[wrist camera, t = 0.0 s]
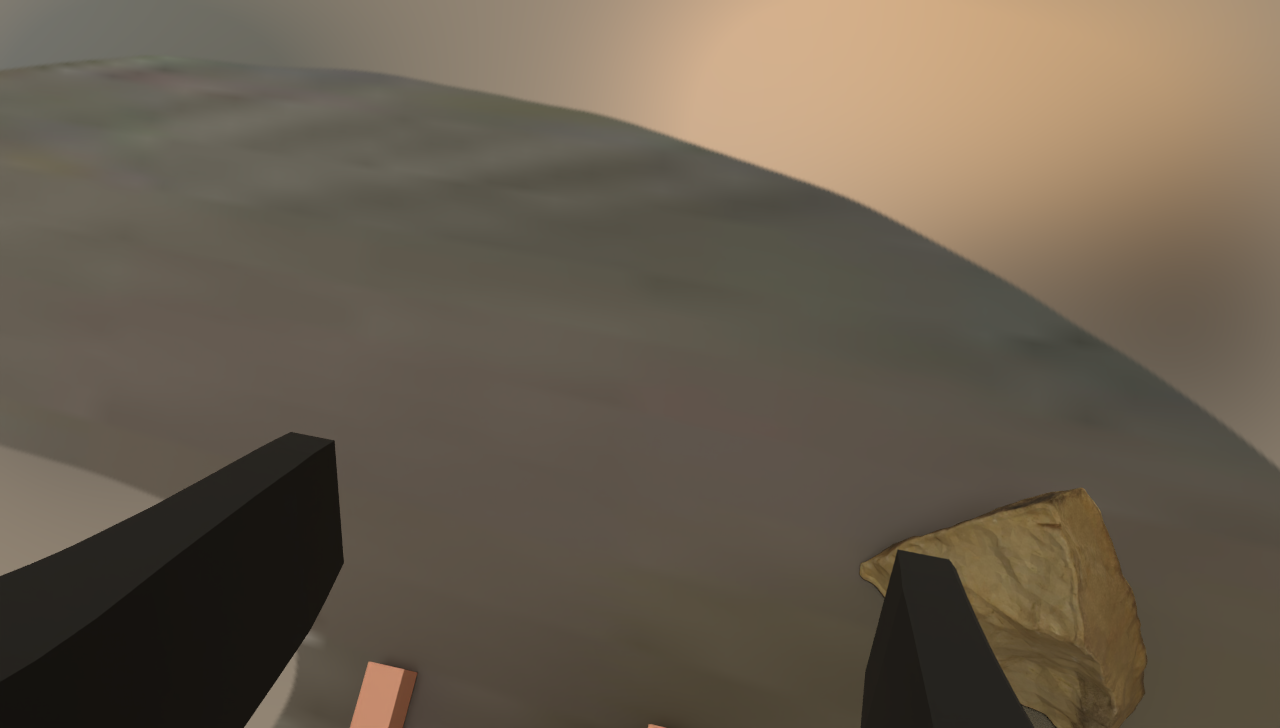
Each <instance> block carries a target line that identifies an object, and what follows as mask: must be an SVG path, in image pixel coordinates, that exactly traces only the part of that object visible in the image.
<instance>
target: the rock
mask: <svg viewBox="0 0 1280 728" xmlns="http://www.w3.org/2000/svg"><path fill="white" fill-rule="evenodd" d="M897 549H898V550H903V551H908V552H914V553H919V554H924V555H929V556H934V557H940V558H945V559H949V560H950V561H951V562H952V564H953V565H954V567H955V568H956V570H957V572H958V575H959V577H960V580H961V582H962V585H963V587H964V590H965V592H966V594H967V597H968V599H969V601H970V604H971V606H972V608H973V610H974V613H975V615H976V617H977V619H978V621H979V624H980V626H981V628H982V630H983V632H984V634H985V636H986V638H987V640H988V643H989V645H990V647H991V649H992V651H993V653H994V655H995V657H996V659H997V661H998V663H999V664H1000V666H1001V668H1002V670H1003V672H1004V674H1005V676H1006V677H1007V679H1008V681H1009V683H1010V685H1011V687H1012V689H1013V690H1014V692H1015V694H1016V696H1017V698H1018V700H1019V702H1020V703H1021V704H1022V705H1024V706H1027V707H1030V708H1033V709H1035V710H1037V711H1039V712H1042V713H1044V714H1045V715H1046V716H1047V717H1048V718H1049V719H1050V720H1051V721H1052V723H1053V724H1054V725H1055V726H1056V727H1057V728H1119V727H1120V726H1121V724H1122V723H1123V721H1124V720H1125V719H1126V718H1127V717H1128V716H1129V715H1130V714H1131V713H1132V712H1133V711H1134V710H1135V709H1136V706H1137V705H1138V703H1139V702H1140V701H1141V699H1142V697H1143V696H1144V694H1145V690H1144V683H1143V679H1144V669H1145V667H1146V664H1147V655H1146V648H1145V646H1144V643H1143V639H1142V637H1141V631H1140V626H1141V624H1140V620H1139V618H1138V616H1137V606H1136V602H1135V597H1134V594H1133V591H1132V588H1131V587H1130V585H1129V584H1128V582H1127V581H1126V579H1125V578H1124V577H1123V575H1122V571H1121V568H1120V563H1119V561H1118V558H1117V555H1116V552H1115V549H1114V546H1113V543H1112V540H1111V538H1110V536H1109V533H1108V531H1107V529H1106V526H1105V524H1104V522H1103V519H1102V515H1101V512H1100V510H1099V508H1098V507H1097V505H1096V504H1095V503H1094V501H1093V500H1092V499H1091V498H1090V496H1089V495H1088V494H1087V493H1086V491H1085V489H1083V488H1077V489H1072V490H1067V491H1058V492H1050V493H1046V494H1042V495H1039V496H1035V497H1032V498H1028V499H1024V500H1021V501H1018V502H1016V503H1013V504H1010V505H1007V506H1004V507H1000V508H997V509H995V510H993V511H991V512H989V513H986V514H984V515H981V516H979V517H977V518H974V519H971V520H967V521H963V522H961V523H958V524H956V525H954V526H952V527H949V528H944V529H940V530H937V531H935V532H932V533H929V534H927V535H924V536H913V537H910V538H908V539H906V540H903V541H901V542H898V543H895V544H893V545H891V546H890V547H888V548H887V549H885V550H883V551H882V552H881V553H879V554H878V555H877V556H875V557H873V558H872V559H870V560H868V561H867V562H863V563H861V565H860V576H861V577H862V578H863V579H864V580H867V581H869V582H871V583H872V584H874V585H875V586H876V587H877V588H878V589H879V591H880V592H881V593H882V594H883V596H884V597H885V595H886V592H887V588H888V584H889V580H890V576H891V572H892V569H893V565H894V561H895V557H896V553H897Z"/></svg>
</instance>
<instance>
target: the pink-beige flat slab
mask: <svg viewBox="0 0 1280 728" xmlns="http://www.w3.org/2000/svg"><path fill="white" fill-rule="evenodd" d="M416 676H417V672H413V671H409V670H405V669H400V668H396V667H391V666H387V665H382V664H378V663H373V662H369V663H368V666H367V670H366V673H365V677H364V680H363V684H362V687H361V691H360V694H359V698H358V701H357V705H356V709H355V712H354V716H353V719H352V723H351V726H350V728H403V725H404V721H405V717H406V714H407V710H408V706H409V702H410V699H411V695H412V691H413V687H414V684H415V680H416ZM648 728H665V727H660V726H656V725H651V724H649V725H648Z"/></svg>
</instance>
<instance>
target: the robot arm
mask: <svg viewBox="0 0 1280 728" xmlns="http://www.w3.org/2000/svg"><path fill="white" fill-rule="evenodd" d="M343 563H344V559H343V546H342V533H341V520H340V507H339V494H338V480H337V467H336V454H335V441H334V440H329V439H324V438H319V437H313V436H308V435H303V434H298V433H293V432H290V433H288V434H286V435H284V436H282V437H280V438H278V439H275V440H274V441H272V442H270V443H268V444H266V445H264V446H262V447H260V448H258V449H257V450H255V451H253V452H251V453H249V454H247V455H246V456H244V457H242V458H240V459H238V460H237V461H235V462H233V463H231V464H229V465H228V466H226V467H224V468H222V469H220V470H218V471H217V472H215V473H213V474H211V475H209V476H208V477H206V478H204V479H202V480H200V481H198V482H197V483H195V484H193V485H191V486H189V487H187V488H186V489H184V490H182V491H180V492H178V493H176V494H174V495H173V496H171V497H169V498H167V499H165V500H163V501H162V502H160V503H158V504H156V505H154V506H152V507H150V508H148V509H146V510H144V511H142V512H140V513H138V514H136V515H134V516H132V517H130V518H128V519H126V520H124V521H122V522H120V523H118V524H116V525H114V526H112V527H110V528H108V529H106V530H104V531H102V532H100V533H98V534H96V535H94V536H92V537H90V538H88V539H85V540H84V541H81V542H79V543H77V544H75V545H73V546H71V547H69V548H66V549H64V550H62V551H60V552H58V553H55V554H53V555H51V556H48V557H46V558H44V559H41V560H39V561H37V562H34V563H32V564H30V565H27V566H25V567H22V568H20V569H17V570H15V571H12V572H10V573H7V574H5V575H2V576H0V728H244V726H245V725H246V724H247V722H248V721H249V719H250V718H251V716H252V715H253V714H254V712H255V711H256V709H257V708H258V706H259V705H260V703H261V702H262V701H263V699H264V698H265V696H266V695H267V693H268V692H269V690H270V689H271V687H272V686H273V684H274V683H275V682H276V680H277V679H278V677H279V676H280V674H281V673H282V671H283V670H284V668H285V667H286V665H287V664H288V662H289V661H290V659H291V658H292V657H293V655H294V654H295V652H296V651H297V649H298V648H299V646H300V645H301V643H302V642H303V640H304V639H305V637H306V635H307V634H308V632H309V631H310V629H311V628H312V626H313V624H314V622H315V620H316V618H317V616H318V614H319V612H320V610H321V608H322V606H323V605H324V603H325V601H326V599H327V597H328V595H329V592H330V590H331V588H332V586H333V584H334V582H335V580H336V578H337V576H338V574H339V572H340V570H341V567H342V565H343ZM861 728H1034V726H1033V724H1032V723H1031V721H1030V719H1029V717H1028V716H1027V714H1026V712H1025V711H1024V709H1023V707H1022V705H1021V703H1020V702H1019V700H1018V698H1017V696H1016V694H1015V692H1014V690H1013V689H1012V687H1011V685H1010V683H1009V681H1008V679H1007V677H1006V676H1005V674H1004V672H1003V670H1002V668H1001V666H1000V664H999V663H998V661H997V659H996V657H995V655H994V653H993V651H992V649H991V647H990V645H989V643H988V640H987V638H986V636H985V634H984V632H983V630H982V628H981V626H980V624H979V621H978V619H977V617H976V615H975V613H974V610H973V608H972V606H971V604H970V601H969V599H968V597H967V594H966V592H965V590H964V587H963V585H962V582H961V580H960V577H959V575H958V572H957V570H956V568H955V567H954V565H953V564H952V562H951V561H950V560H949V559H945V558H940V557H934V556H929V555H924V554H919V553H914V552H908V551H903V550H898V549H897V553H896V557H895V561H894V565H893V569H892V572H891V576H890V580H889V584H888V588H887V592H886V595H885V599H884V603H883V607H882V611H881V615H880V618H879V622H878V626H877V630H876V634H875V637H874V641H873V645H872V649H871V653H870V657H869V660H868V664H867V668H866V672H865V683H864V695H863V706H862V718H861Z"/></svg>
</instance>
